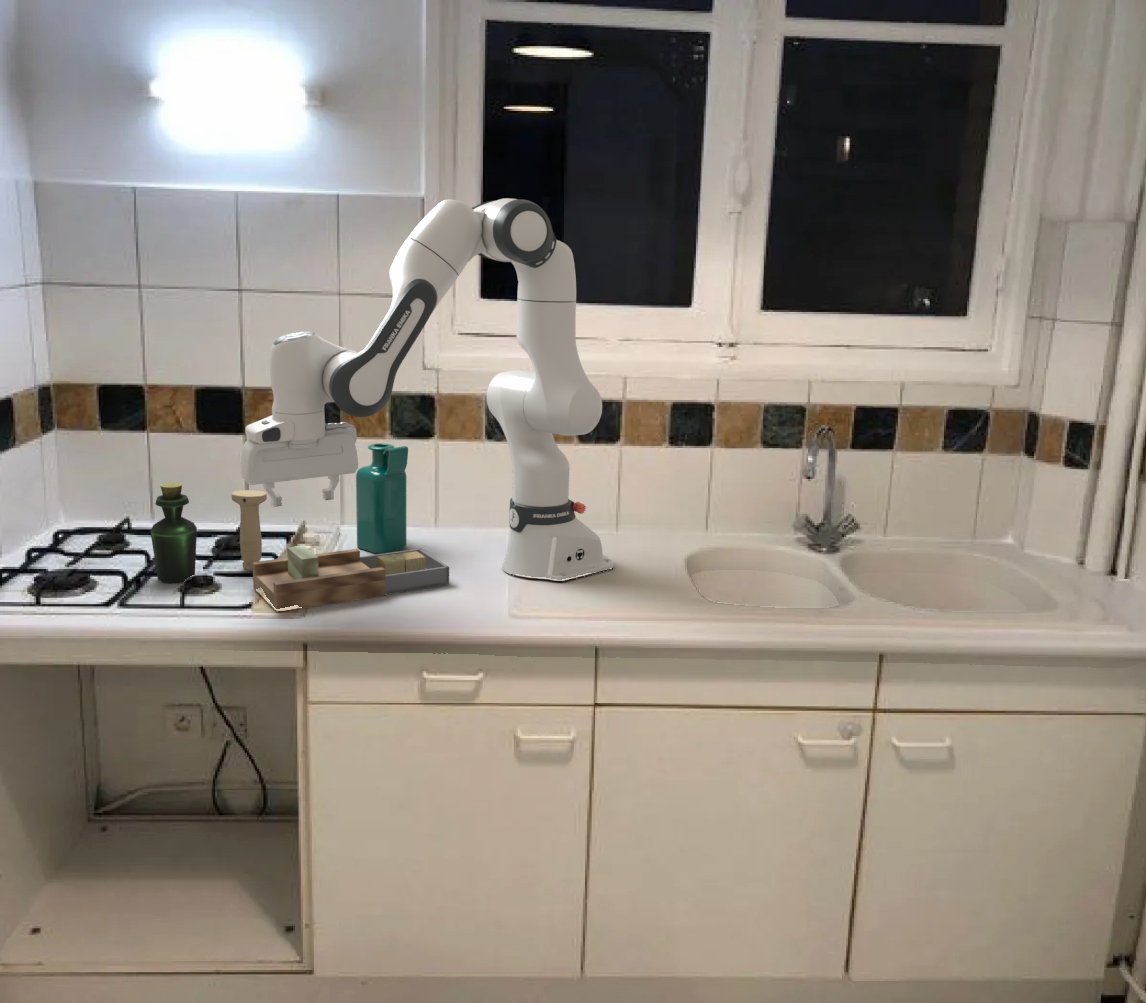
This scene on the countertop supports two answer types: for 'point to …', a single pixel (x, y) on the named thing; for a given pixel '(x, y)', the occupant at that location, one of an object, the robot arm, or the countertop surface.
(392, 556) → the brass block
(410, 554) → the brass block
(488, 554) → the countertop surface
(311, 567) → the bar
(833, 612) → the countertop surface
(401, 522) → the pitcher
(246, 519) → the handle
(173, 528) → the potion bottle
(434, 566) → the tray
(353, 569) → the slot board
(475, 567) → the countertop surface
